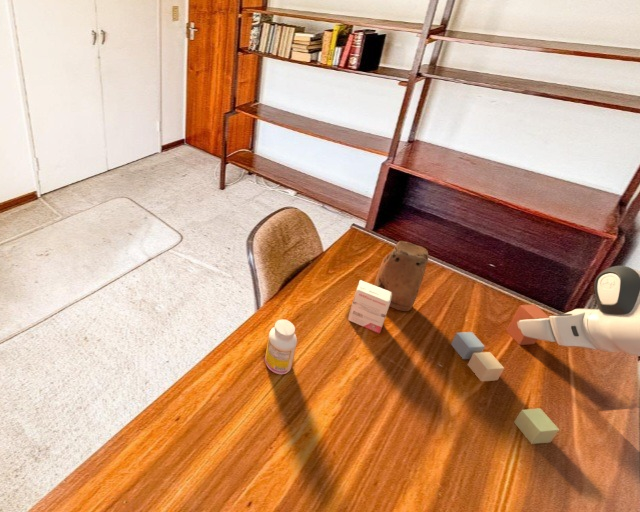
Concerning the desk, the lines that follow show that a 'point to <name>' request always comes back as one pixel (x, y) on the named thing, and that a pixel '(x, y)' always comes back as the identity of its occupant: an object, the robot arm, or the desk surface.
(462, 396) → the desk surface
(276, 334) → the supplement bottle
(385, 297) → the ink box
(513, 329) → the tall block
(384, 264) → the brown tall rounded lump
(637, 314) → the robot arm
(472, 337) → the cube
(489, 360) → the cube
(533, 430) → the cube
